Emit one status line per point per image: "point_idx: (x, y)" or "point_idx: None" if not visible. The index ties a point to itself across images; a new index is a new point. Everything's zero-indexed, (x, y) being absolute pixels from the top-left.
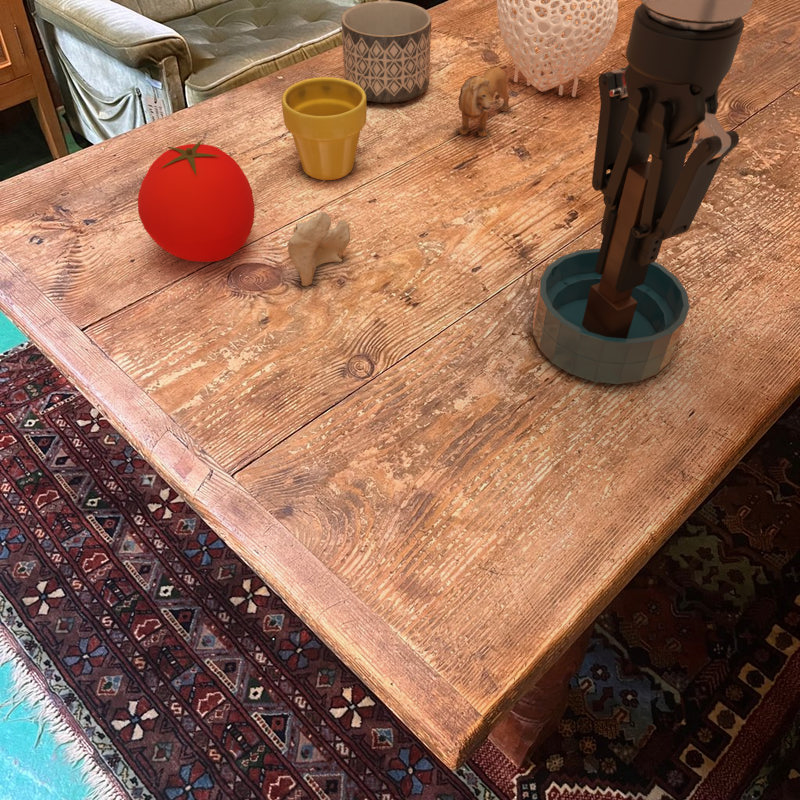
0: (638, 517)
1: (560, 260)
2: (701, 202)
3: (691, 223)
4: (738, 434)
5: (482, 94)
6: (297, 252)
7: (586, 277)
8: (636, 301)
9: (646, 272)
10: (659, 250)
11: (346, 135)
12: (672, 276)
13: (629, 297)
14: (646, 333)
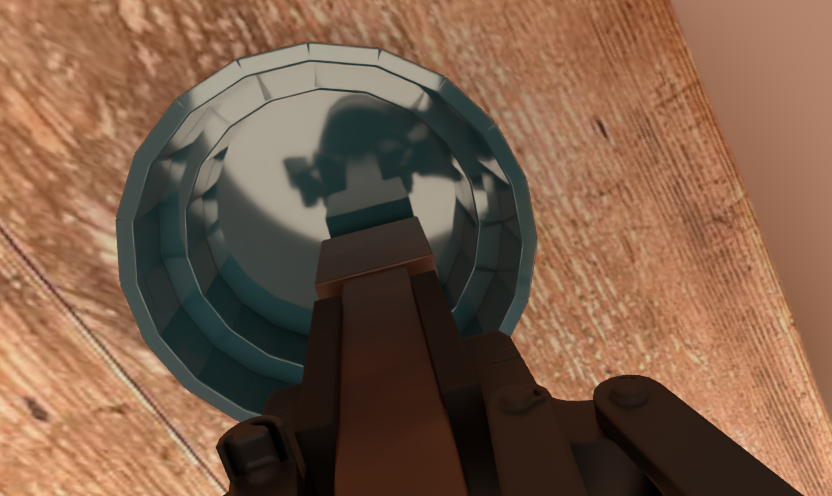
0: (760, 330)
1: (164, 349)
2: (794, 489)
3: (682, 401)
4: (684, 59)
5: None
6: None
7: (178, 235)
8: (429, 256)
9: (441, 287)
10: (519, 354)
11: None
12: (298, 54)
13: (408, 267)
14: (361, 118)
